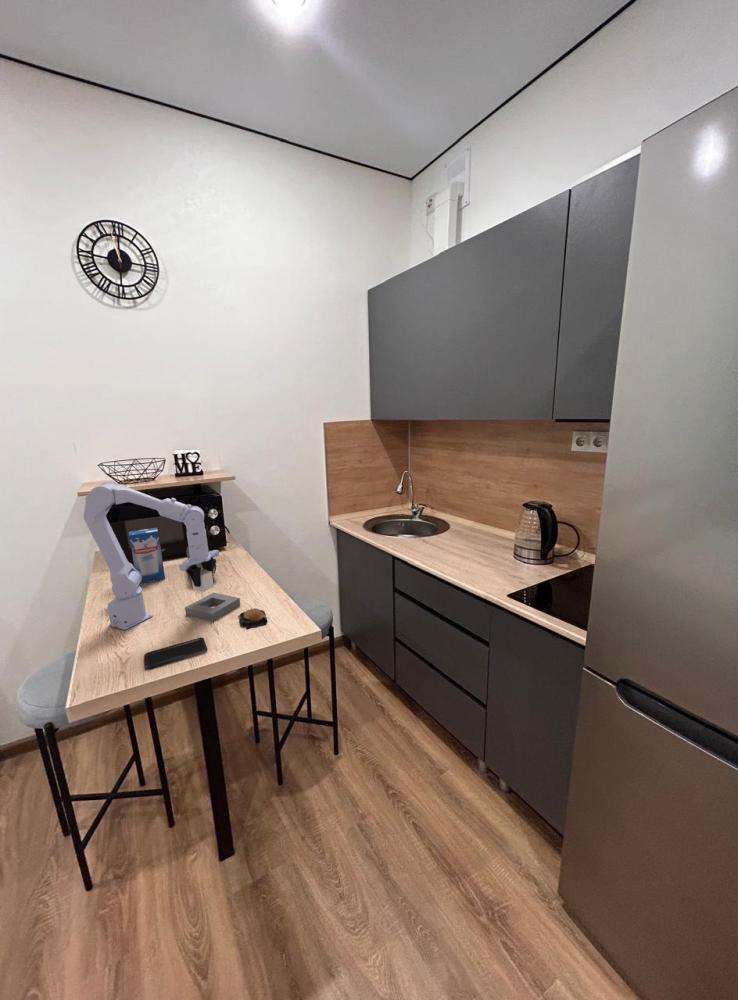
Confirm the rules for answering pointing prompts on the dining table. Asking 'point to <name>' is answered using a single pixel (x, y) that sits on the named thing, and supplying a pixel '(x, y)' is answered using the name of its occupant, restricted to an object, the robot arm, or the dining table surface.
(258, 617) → the bread roll
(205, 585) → the plug
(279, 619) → the dining table surface
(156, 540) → the milk carton
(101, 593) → the dining table surface
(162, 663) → the phone
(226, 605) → the socket block
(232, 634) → the dining table surface
